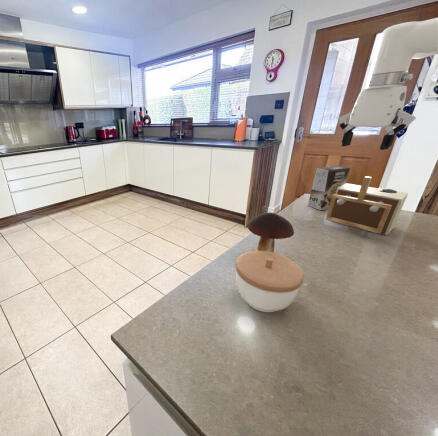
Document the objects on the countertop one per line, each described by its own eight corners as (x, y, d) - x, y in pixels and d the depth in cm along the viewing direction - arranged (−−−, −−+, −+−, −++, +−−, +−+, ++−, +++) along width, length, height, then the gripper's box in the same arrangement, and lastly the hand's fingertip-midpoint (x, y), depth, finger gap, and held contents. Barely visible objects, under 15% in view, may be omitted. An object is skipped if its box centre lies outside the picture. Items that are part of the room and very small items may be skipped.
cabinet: (393, 227, 78) (408, 193, 73) (378, 245, 69) (394, 208, 64) (336, 213, 90) (345, 183, 85) (317, 227, 81) (326, 194, 75)
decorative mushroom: (240, 250, 71) (246, 204, 64) (280, 254, 68) (291, 206, 61) (243, 272, 61) (250, 221, 55) (290, 278, 58) (304, 224, 52)
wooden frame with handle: (381, 232, 70) (402, 180, 64) (379, 234, 70) (401, 182, 63) (326, 218, 81) (340, 172, 74) (325, 219, 80) (338, 173, 73)
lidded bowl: (286, 334, 44) (298, 289, 40) (222, 303, 52) (227, 263, 47) (300, 296, 53) (311, 255, 48) (243, 274, 60) (249, 237, 56)
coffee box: (320, 210, 92) (332, 170, 86) (306, 205, 98) (316, 167, 91) (338, 207, 94) (351, 167, 88) (324, 202, 100) (334, 164, 93)
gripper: (438, 76, 57) (409, 149, 64) (355, 85, 71) (339, 143, 79) (422, 77, 54) (394, 152, 61) (340, 85, 69) (325, 146, 76)
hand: (363, 147), depth 70 cm, fingers open, 9 cm apart
